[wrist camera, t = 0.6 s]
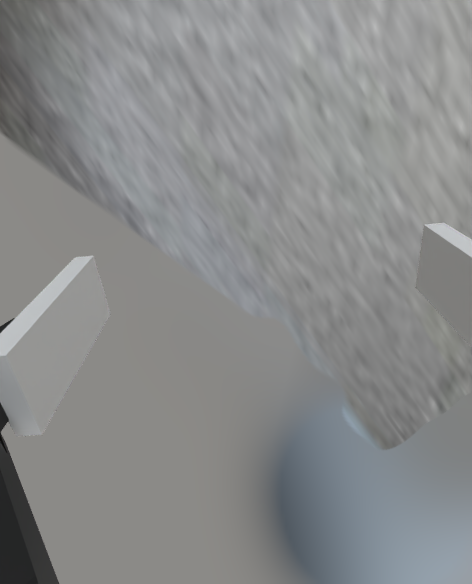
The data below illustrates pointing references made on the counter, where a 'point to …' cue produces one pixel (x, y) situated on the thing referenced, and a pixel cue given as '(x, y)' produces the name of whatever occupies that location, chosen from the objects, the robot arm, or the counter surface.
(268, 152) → the counter surface
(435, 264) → the robot arm
